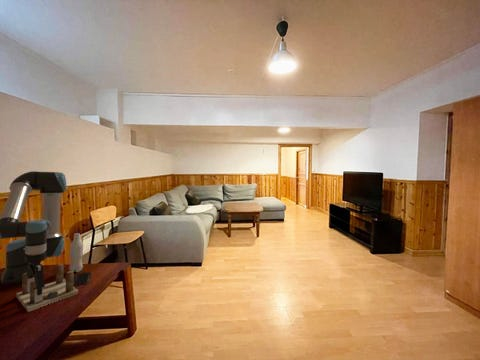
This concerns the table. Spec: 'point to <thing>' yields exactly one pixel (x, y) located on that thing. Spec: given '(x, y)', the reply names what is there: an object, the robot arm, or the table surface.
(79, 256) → the water bottle
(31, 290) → the hinged leg
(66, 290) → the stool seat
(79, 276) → the phone
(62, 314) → the table surface
